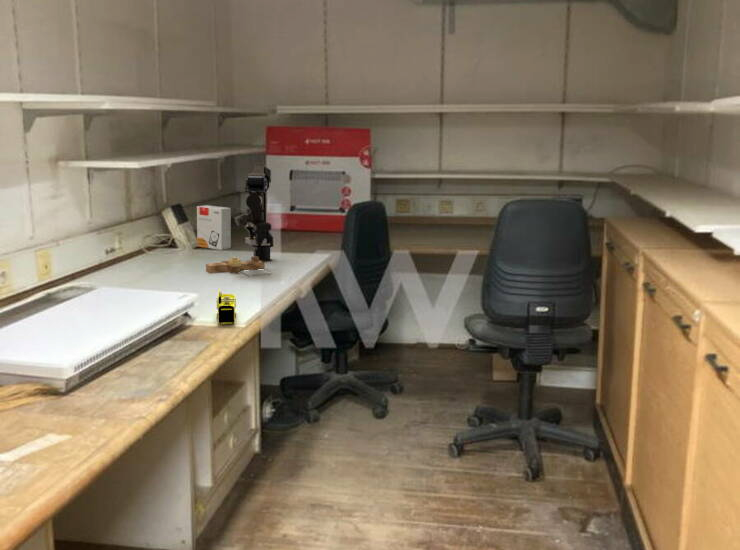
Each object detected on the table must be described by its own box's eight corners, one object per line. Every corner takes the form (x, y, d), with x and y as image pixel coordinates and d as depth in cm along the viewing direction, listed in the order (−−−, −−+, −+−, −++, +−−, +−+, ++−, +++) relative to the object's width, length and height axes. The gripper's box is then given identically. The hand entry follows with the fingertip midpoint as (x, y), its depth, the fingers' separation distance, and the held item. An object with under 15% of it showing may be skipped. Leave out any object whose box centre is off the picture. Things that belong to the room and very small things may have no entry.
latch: (237, 264, 285) (237, 256, 284) (241, 266, 281) (241, 258, 280) (228, 264, 283) (228, 256, 282) (232, 266, 279) (232, 258, 278)
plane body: (256, 265, 299) (256, 254, 298) (267, 270, 288) (267, 259, 287) (203, 269, 287) (203, 257, 286) (212, 274, 277) (212, 262, 276)
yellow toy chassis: (217, 312, 220) (217, 287, 219) (235, 312, 222) (235, 286, 220) (216, 326, 205) (215, 298, 203) (236, 326, 206) (235, 298, 205)
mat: (264, 270, 288) (264, 269, 288) (271, 274, 281) (271, 273, 281) (241, 272, 283) (241, 271, 283) (247, 276, 277) (247, 274, 276)
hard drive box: (196, 246, 342) (195, 206, 338) (206, 245, 348) (206, 205, 344) (221, 250, 335) (221, 208, 331) (231, 248, 341) (231, 207, 337)
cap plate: (260, 241, 284) (260, 235, 284) (266, 244, 279) (266, 237, 278) (245, 242, 281) (245, 235, 281) (250, 245, 276) (250, 238, 275)
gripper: (228, 204, 281) (229, 242, 284) (244, 209, 265) (244, 250, 268) (255, 204, 287) (255, 241, 290) (271, 209, 271) (271, 248, 274)
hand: (256, 245), depth 280 cm, fingers closed on cap plate, 6 cm apart
